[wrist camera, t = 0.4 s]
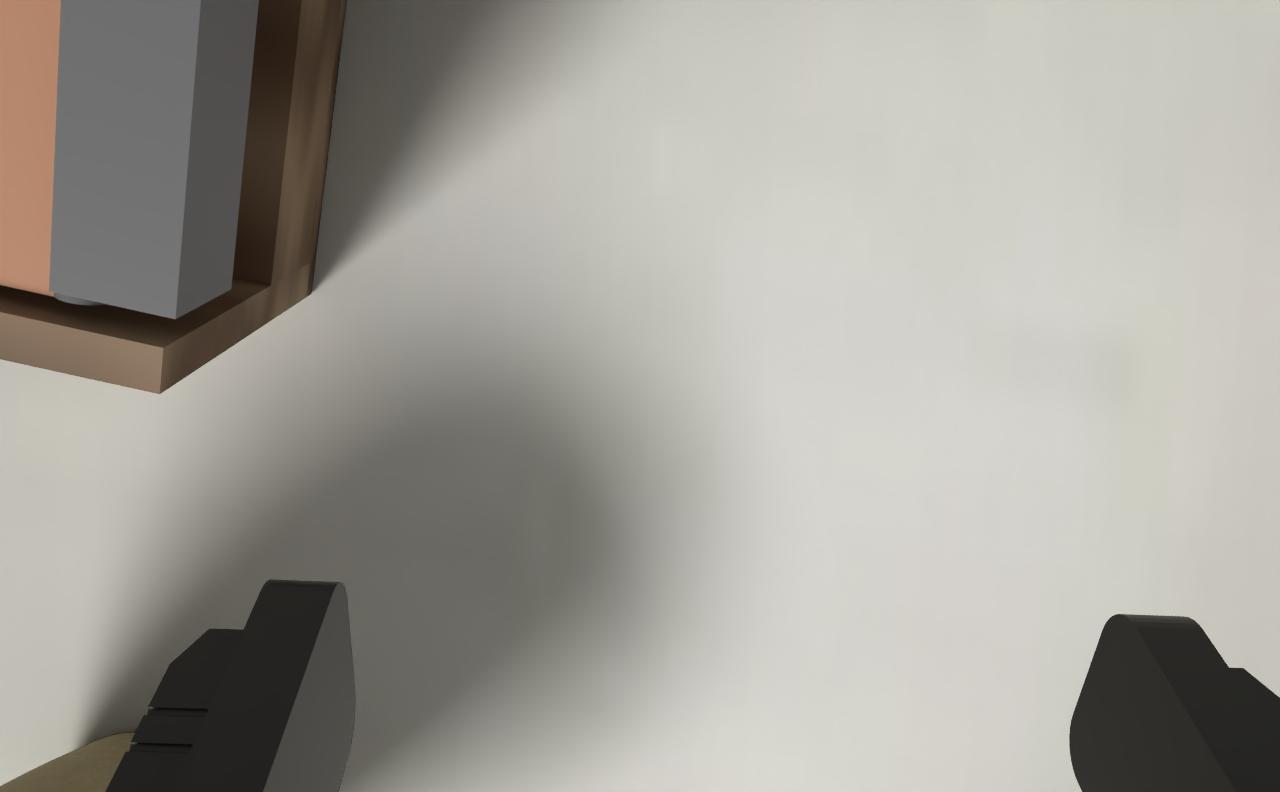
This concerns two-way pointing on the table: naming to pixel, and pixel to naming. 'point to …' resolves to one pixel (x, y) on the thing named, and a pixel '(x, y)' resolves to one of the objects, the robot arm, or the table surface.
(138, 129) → the trapdoor
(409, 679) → the table surface
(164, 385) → the walnut frame
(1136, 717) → the robot arm
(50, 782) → the plant pot
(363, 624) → the table surface
